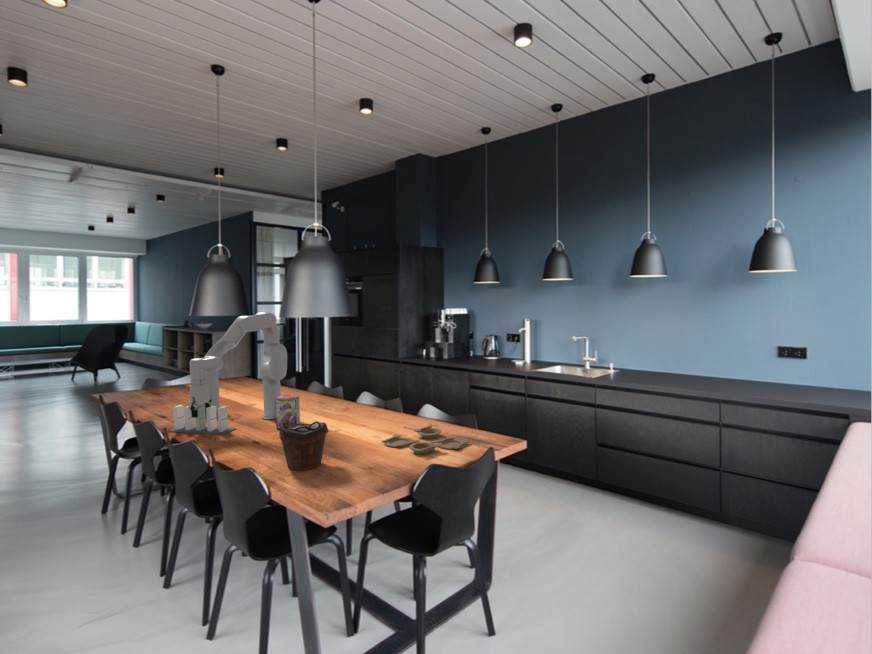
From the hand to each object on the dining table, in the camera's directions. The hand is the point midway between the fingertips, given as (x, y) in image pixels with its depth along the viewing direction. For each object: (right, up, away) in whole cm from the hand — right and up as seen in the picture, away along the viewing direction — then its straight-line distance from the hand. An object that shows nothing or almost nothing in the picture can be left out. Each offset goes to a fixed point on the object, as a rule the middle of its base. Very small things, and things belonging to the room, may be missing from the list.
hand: (201, 415), depth 256 cm
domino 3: (0, -8, 0) cm, 8 cm away
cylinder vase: (-17, -6, +45) cm, 48 cm away
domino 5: (+13, -7, -3) cm, 15 cm away
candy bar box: (+45, -7, 0) cm, 46 cm away
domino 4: (+6, -8, -1) cm, 10 cm away
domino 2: (-6, -8, +2) cm, 10 cm away
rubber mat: (0, -8, 0) cm, 8 cm away
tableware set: (+117, -8, -32) cm, 121 cm away
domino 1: (-13, -8, +3) cm, 15 cm away
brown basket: (+69, -10, -57) cm, 90 cm away
